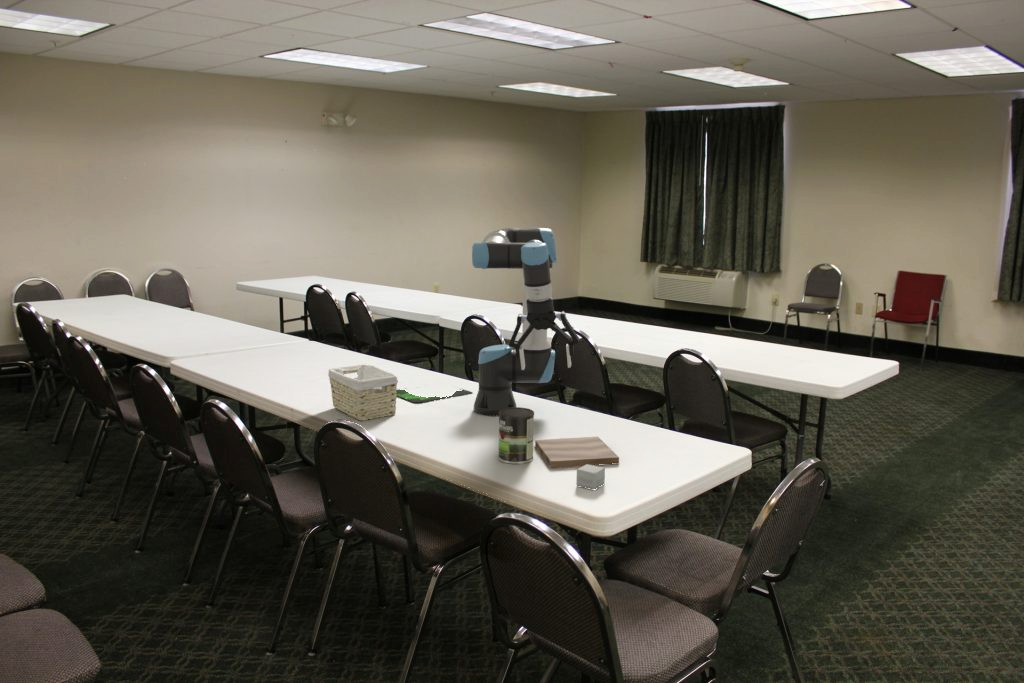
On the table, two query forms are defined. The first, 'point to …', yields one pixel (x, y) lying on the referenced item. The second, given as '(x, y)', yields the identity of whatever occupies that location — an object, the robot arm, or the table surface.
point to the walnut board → (575, 452)
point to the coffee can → (516, 435)
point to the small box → (590, 476)
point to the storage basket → (364, 391)
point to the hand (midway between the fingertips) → (546, 367)
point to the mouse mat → (420, 399)
